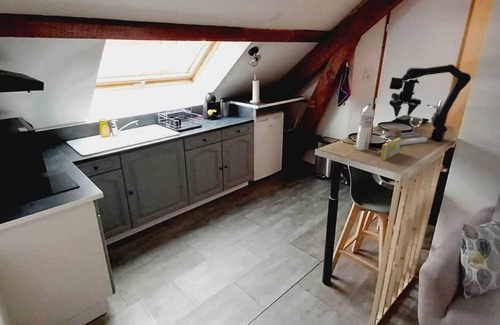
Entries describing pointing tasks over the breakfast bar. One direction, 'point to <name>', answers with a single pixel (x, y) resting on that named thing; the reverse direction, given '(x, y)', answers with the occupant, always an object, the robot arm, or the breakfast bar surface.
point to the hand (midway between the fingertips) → (402, 116)
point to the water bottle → (365, 128)
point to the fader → (394, 132)
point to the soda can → (371, 133)
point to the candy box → (390, 148)
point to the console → (407, 138)
